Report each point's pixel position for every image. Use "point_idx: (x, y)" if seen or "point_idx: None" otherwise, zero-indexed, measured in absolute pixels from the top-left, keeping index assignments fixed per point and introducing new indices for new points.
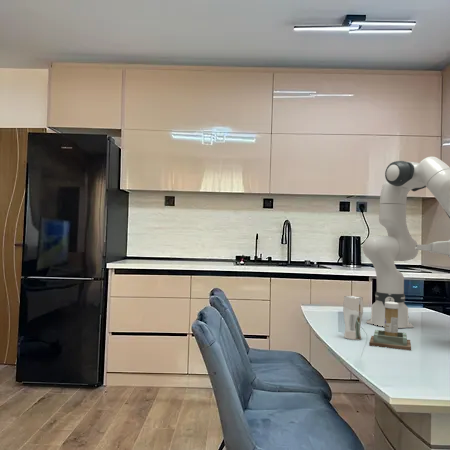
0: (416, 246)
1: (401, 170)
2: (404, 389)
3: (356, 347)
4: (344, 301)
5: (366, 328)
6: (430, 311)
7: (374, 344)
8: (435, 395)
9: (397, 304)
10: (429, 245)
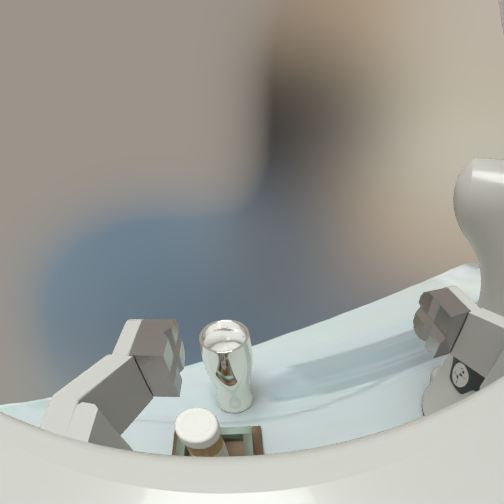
0: (421, 302)
1: None
2: None
3: (150, 410)
4: (214, 330)
5: (376, 392)
6: None
7: (174, 437)
8: None
9: (183, 440)
10: (53, 417)
